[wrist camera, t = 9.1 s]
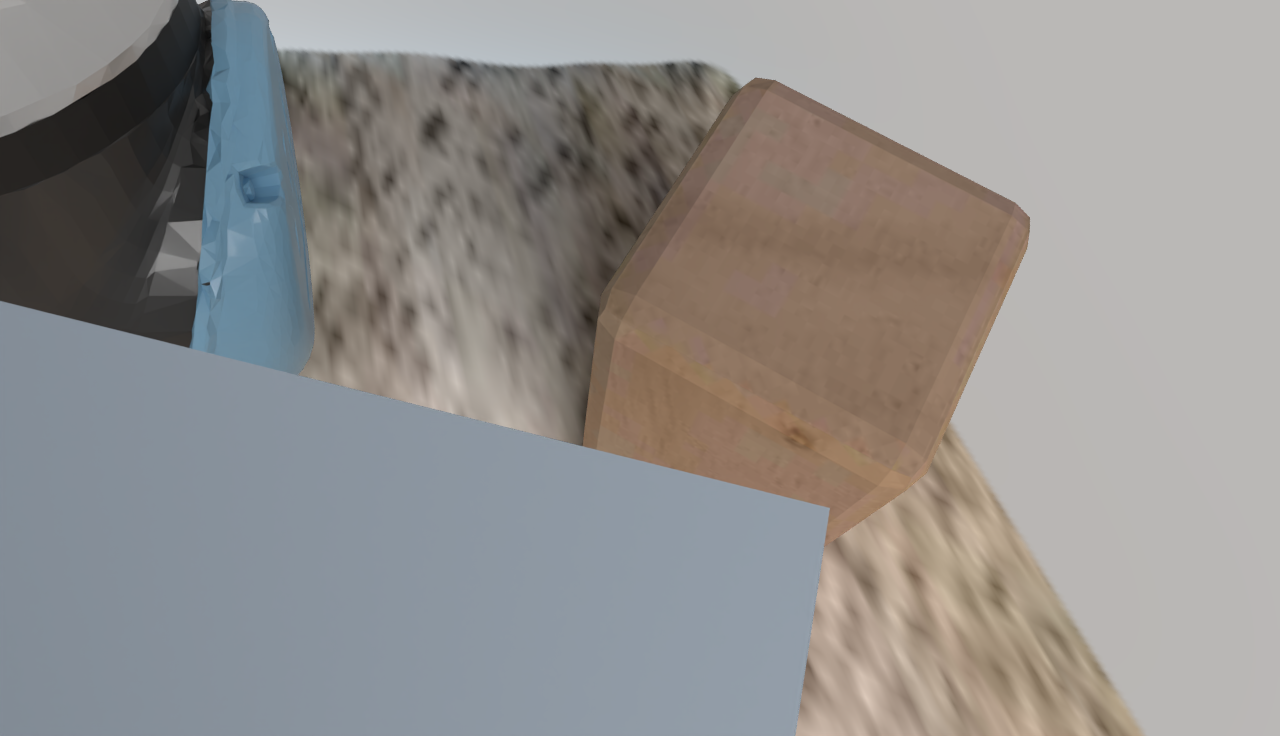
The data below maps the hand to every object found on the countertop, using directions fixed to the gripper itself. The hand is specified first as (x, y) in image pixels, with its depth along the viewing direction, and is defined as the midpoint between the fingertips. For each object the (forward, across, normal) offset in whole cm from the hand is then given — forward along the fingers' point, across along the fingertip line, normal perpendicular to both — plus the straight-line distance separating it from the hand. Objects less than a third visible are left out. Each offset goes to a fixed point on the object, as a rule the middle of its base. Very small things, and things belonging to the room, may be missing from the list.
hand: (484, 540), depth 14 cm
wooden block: (+28, +6, -12) cm, 31 cm away
